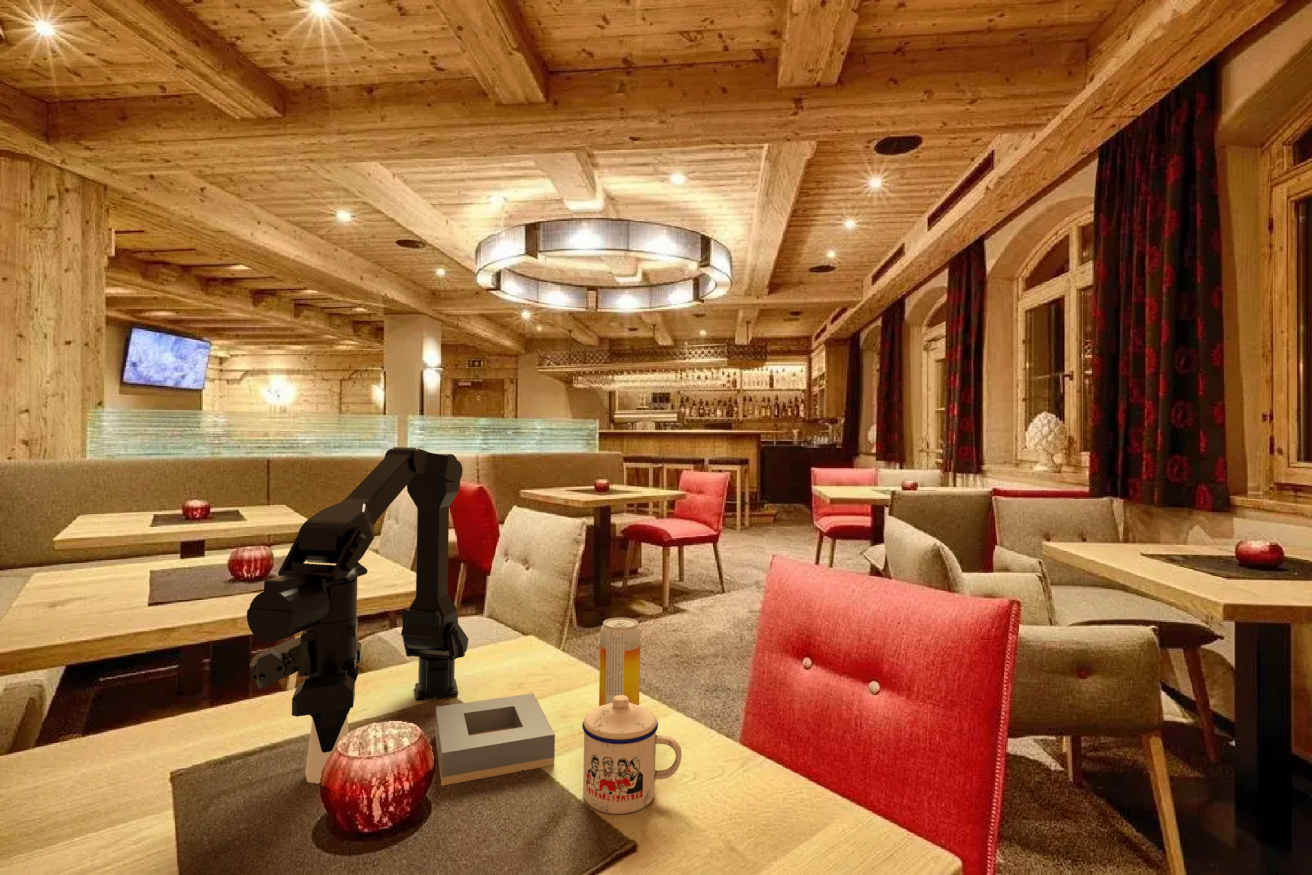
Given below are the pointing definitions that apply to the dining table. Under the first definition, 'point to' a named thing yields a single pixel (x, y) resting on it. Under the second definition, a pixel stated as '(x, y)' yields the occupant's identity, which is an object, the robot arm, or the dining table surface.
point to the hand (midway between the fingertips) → (329, 740)
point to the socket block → (492, 738)
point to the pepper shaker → (319, 754)
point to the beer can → (619, 660)
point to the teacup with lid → (622, 756)
